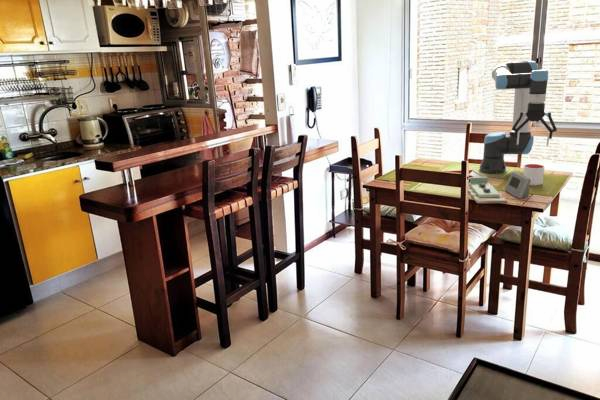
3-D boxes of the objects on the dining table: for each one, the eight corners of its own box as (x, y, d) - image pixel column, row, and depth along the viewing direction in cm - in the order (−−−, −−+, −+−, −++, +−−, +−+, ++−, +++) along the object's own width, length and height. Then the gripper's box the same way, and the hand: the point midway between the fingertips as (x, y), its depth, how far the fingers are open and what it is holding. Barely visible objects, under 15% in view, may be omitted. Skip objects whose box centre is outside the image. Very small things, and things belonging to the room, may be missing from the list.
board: (464, 186, 253) (464, 179, 251) (490, 186, 251) (491, 179, 250) (477, 203, 225) (477, 195, 224) (506, 203, 223) (507, 194, 222)
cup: (544, 186, 245) (546, 168, 242) (524, 186, 247) (526, 168, 244) (539, 181, 255) (541, 163, 252) (520, 181, 257) (521, 164, 254)
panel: (468, 185, 250) (469, 177, 249) (487, 184, 249) (488, 176, 248) (478, 197, 230) (479, 188, 228) (499, 196, 228) (500, 188, 227)
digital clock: (503, 190, 243) (505, 171, 240) (521, 190, 242) (523, 170, 239) (512, 199, 228) (514, 179, 225) (531, 199, 227) (533, 178, 223)
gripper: (508, 103, 227) (505, 145, 234) (565, 103, 216) (560, 147, 222) (509, 101, 233) (506, 142, 240) (565, 101, 222) (560, 144, 229)
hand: (532, 144), depth 231 cm, fingers open, 13 cm apart
